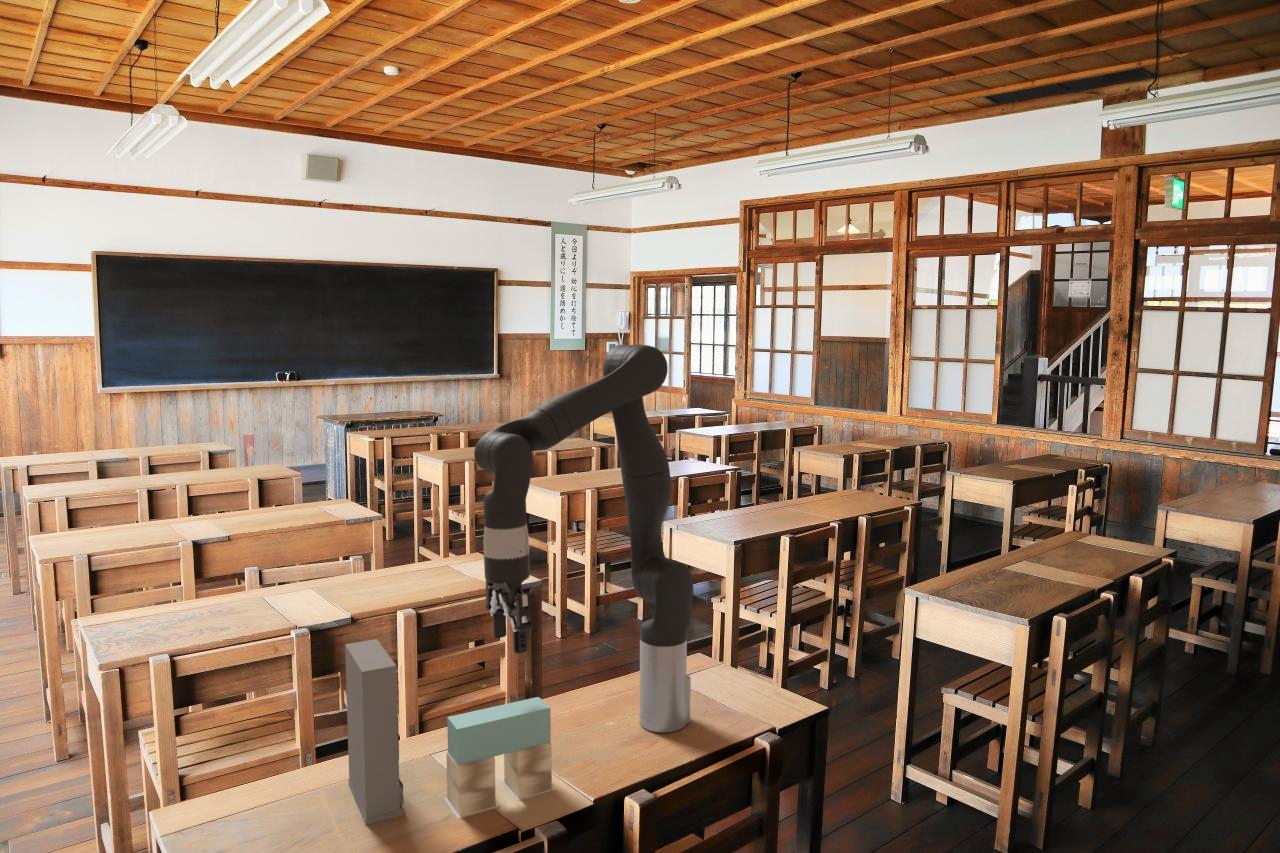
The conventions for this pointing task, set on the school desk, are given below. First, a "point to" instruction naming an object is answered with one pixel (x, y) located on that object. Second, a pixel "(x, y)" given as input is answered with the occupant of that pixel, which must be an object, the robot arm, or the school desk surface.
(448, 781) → the pillar
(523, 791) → the pillar
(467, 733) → the lintel
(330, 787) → the school desk surface
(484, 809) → the thin flat base plate
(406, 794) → the school desk surface
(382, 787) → the tall grey upright post
